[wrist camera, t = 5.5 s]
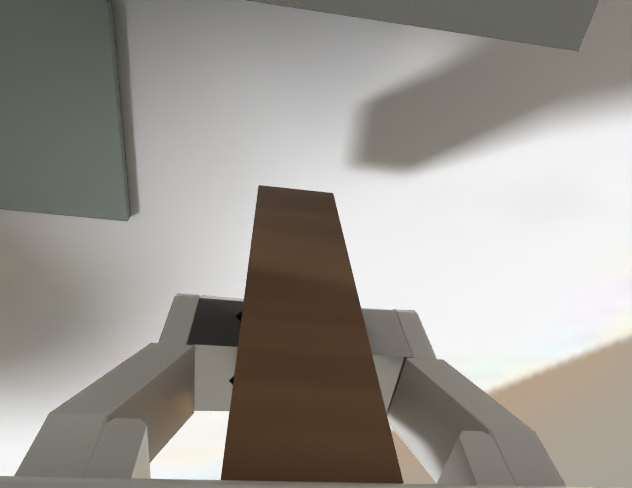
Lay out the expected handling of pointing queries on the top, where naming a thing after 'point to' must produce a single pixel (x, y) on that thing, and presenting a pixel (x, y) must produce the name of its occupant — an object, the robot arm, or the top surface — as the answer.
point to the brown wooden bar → (304, 356)
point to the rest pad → (61, 110)
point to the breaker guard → (473, 17)
